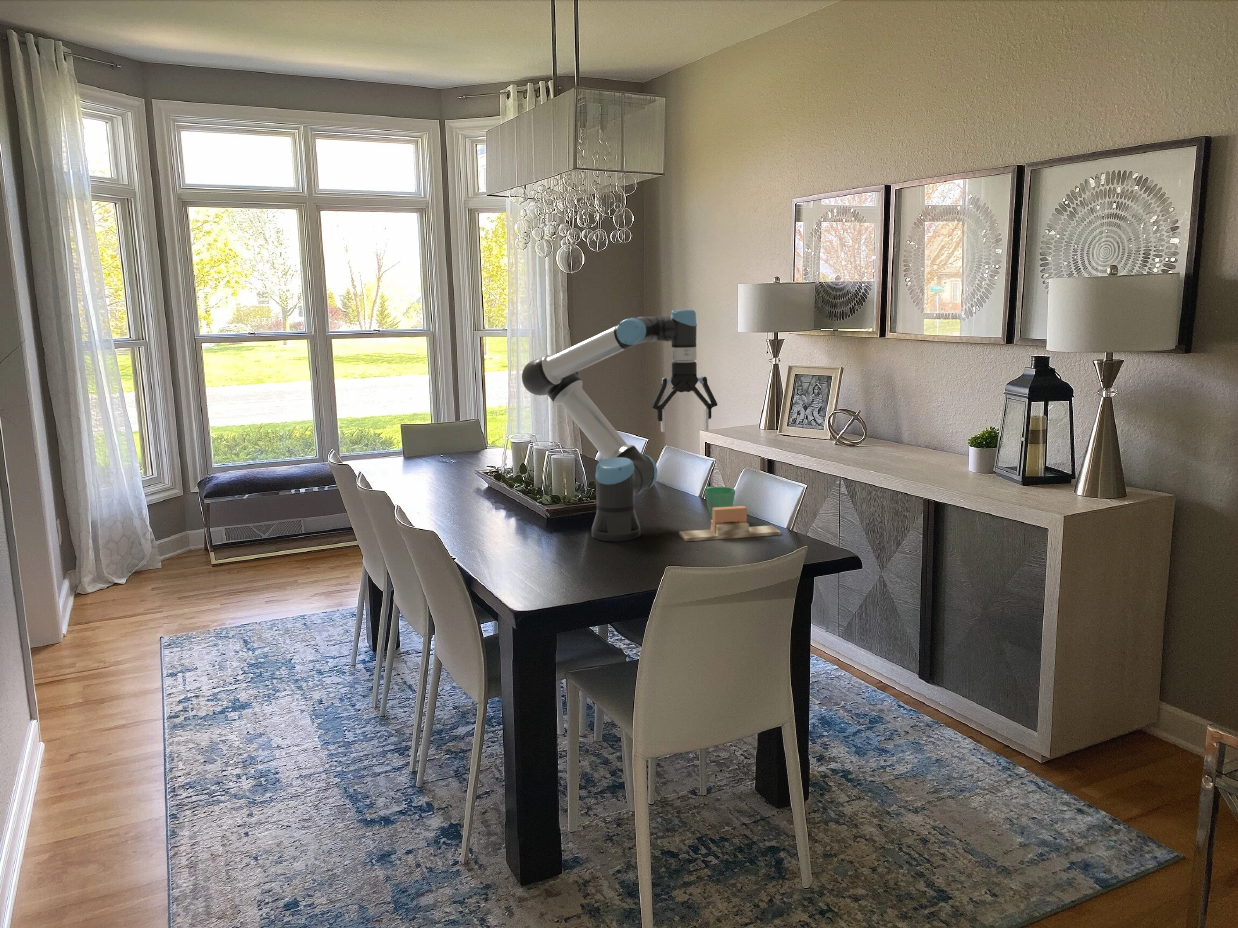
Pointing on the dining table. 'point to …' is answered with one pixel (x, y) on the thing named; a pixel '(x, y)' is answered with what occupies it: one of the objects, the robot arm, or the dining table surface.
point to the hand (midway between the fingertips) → (684, 430)
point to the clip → (728, 515)
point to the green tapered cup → (719, 497)
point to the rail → (729, 531)
